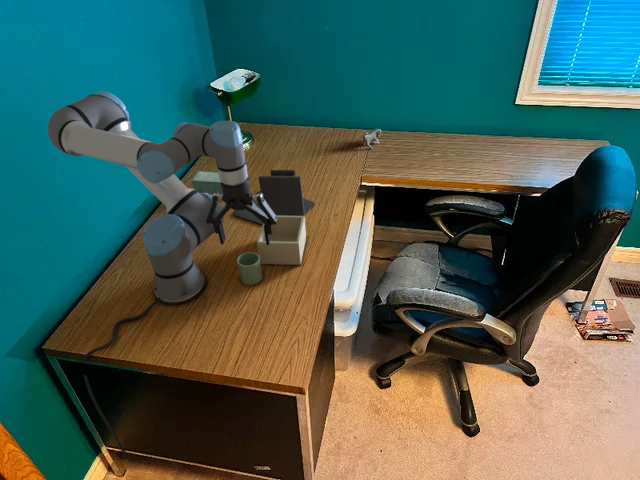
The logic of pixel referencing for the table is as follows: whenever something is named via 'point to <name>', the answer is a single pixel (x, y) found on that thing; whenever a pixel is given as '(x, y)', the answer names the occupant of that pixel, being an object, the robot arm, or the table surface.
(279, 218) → the open square bin
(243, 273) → the green cup
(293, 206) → the bin lid
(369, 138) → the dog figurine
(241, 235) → the table surface
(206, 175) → the box
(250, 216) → the mouse pad
